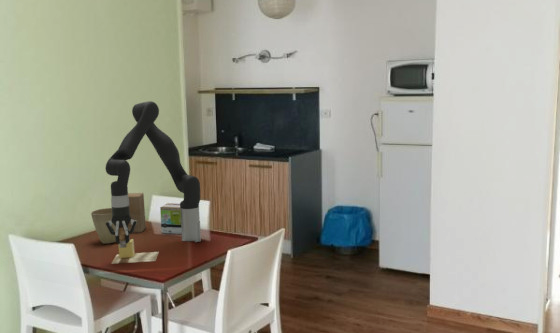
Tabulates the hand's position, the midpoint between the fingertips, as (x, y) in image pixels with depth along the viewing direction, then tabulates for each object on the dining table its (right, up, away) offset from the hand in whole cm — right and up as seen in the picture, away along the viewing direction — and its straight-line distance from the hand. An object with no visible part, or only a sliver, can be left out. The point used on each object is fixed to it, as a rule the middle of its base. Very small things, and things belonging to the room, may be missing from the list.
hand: (122, 243), depth 246 cm
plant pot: (-18, -5, +37) cm, 42 cm away
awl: (0, -2, 0) cm, 2 cm away
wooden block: (-10, -1, +58) cm, 59 cm away
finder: (0, -7, +7) cm, 10 cm away
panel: (+5, -8, +5) cm, 11 cm away
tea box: (+15, -1, +53) cm, 55 cm away
